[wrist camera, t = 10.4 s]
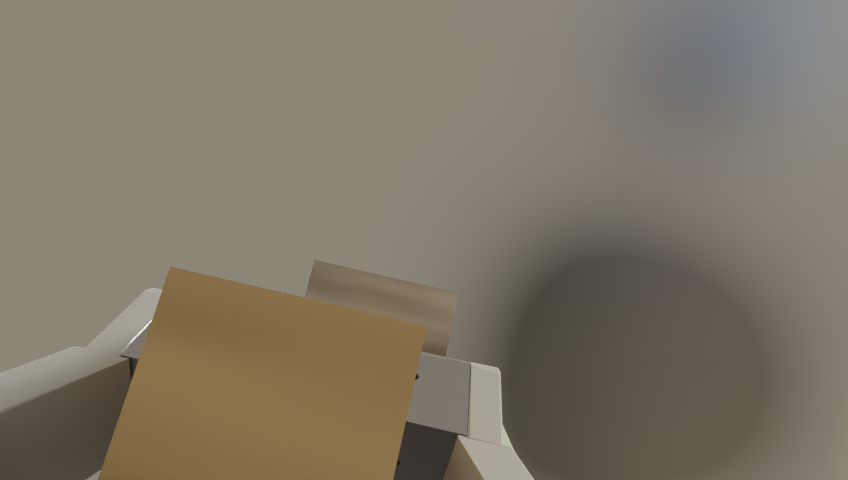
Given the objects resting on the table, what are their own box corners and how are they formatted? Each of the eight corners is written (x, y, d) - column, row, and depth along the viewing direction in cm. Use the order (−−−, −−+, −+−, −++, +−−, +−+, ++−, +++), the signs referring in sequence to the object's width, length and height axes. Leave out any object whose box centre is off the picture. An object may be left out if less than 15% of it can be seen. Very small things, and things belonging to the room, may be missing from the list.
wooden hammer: (554, 661, 5) (632, 128, 7) (-121, 507, 5) (93, 3, 7) (427, 415, 26) (451, 299, 28) (292, 384, 26) (323, 269, 28)
